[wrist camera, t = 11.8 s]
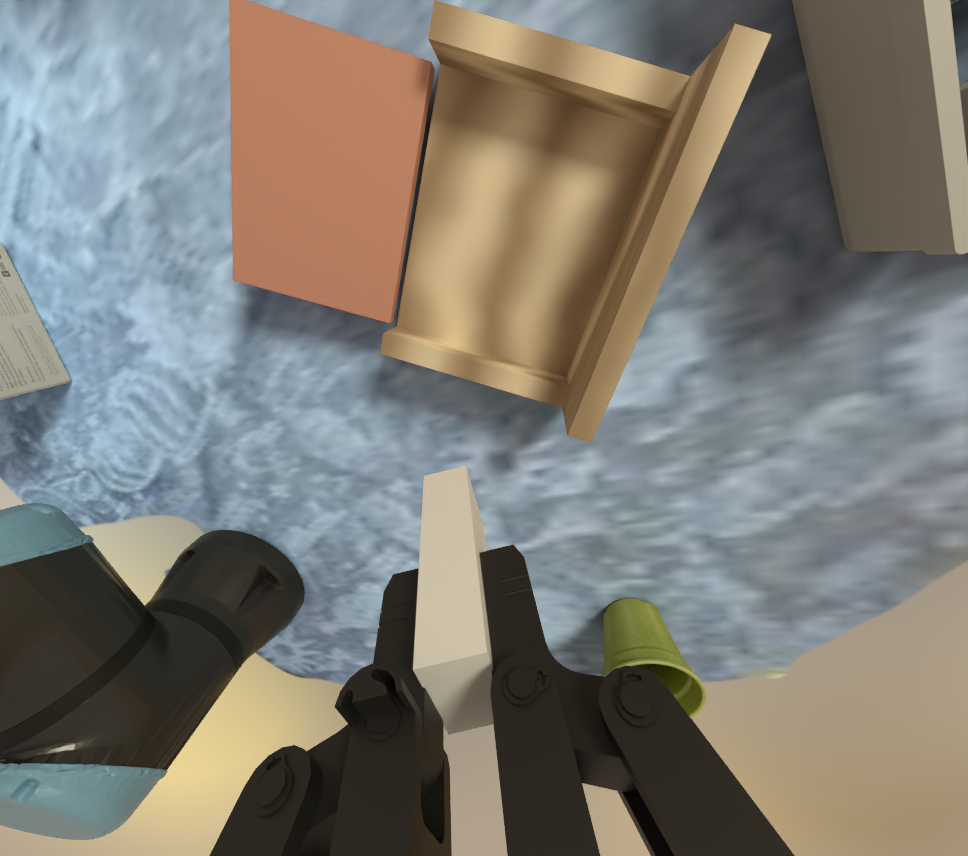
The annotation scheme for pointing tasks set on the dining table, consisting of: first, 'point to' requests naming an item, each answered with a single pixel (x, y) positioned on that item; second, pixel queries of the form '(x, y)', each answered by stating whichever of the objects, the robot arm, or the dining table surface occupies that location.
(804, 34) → the grey compartment organizer
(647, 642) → the plant pot
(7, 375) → the supplement box
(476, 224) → the tray
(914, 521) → the dining table surface
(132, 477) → the dining table surface
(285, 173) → the panel
